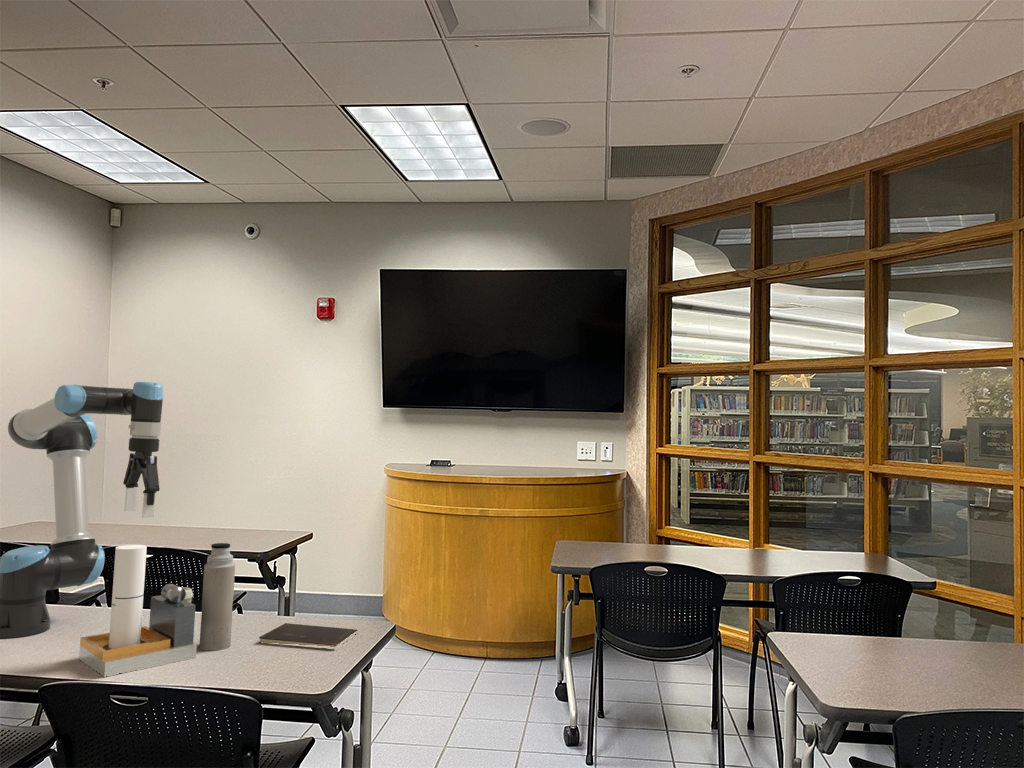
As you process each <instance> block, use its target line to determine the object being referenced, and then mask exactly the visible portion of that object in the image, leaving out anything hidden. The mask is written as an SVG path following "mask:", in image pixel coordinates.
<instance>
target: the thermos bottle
mask: <svg viewBox="0 0 1024 768" xmlns="http://www.w3.org/2000/svg"><path fill="white" fill-rule="evenodd" d="M210 545H211V552H210V554H209V555H207V560H206V563H205V564H204V566H203V580H202V596H201V597H202V600H201V615H200V616H201V617H200V618H201V619H200V629H199V630H200V631H199V632H200V633H199V649H200V650H202V649H203V650H202V651H208V650H214V651H220V650H221V649H222V650H224V648H225V649H227V647H228V648H229V646H230V647H231V643H232V627H233V625H232V624H233V603H234V593H235V592H234V589H235V578H236V577H235V575H236V573H235V572H236V563H235V562H233V561H234V555H233V554H231V548H230V547H231V544H230V543H227V542H226V543H225V542H217V543H213V544H210Z"/></svg>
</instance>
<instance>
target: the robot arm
mask: <svg viewBox="0 0 1024 768" xmlns="http://www.w3.org/2000/svg"><path fill="white" fill-rule="evenodd" d="M163 401H164V385H163V384H162V383H159V382H150V381H149V382H148V381H136V382H134V384H133V386H132V388H124V387H123V388H121V387H105V386H104V387H103V386H93V385H92V386H91V385H90V386H89V385H80V384H64V385H63V384H62V385H60V386H59V387H57V390H56V392H55V394H54V398H51V399H50V400H48V401H46V402H44V403H42V404H40V405H38V406H36V407H34V408H26V409H23V410H20V411H19V412H17V413H15V414H14V415H13V416H12V417H11V418H10V420H9V422H8V425H7V431H8V435H9V436H10V438H11V440H12V441H13V442H15V443H16V444H17V445H19V446H21V447H23V448H26V449H30V450H46V458H48V459H49V460H51V461H52V471H53V472H52V473H53V491H54V492H53V493H54V495H53V496H54V514H55V535H56V536H55V539H54V540H53V541H52V542H51V543H50V548H49V546H48V545H42V544H41V545H39V544H37V545H30V546H23V547H19V548H15V549H11V550H9V551H7V552H4V553H3V554H2V555H1V556H0V639H9V638H10V639H11V638H21V637H29V636H33V635H37V634H40V633H44V632H46V631H48V630H49V629H50V628H51V617H50V613H49V611H48V607H47V603H46V592H47V591H50V590H57V589H62V588H69V587H70V588H71V587H80V586H83V585H89V584H92V583H94V582H96V581H97V580H98V579H99V577H100V576H101V573H102V571H103V570H104V565H105V559H106V557H105V550H104V548H103V546H102V545H100V544H97V543H96V538H95V537H94V536H92V535H91V533H90V529H89V528H90V527H89V510H88V494H87V493H88V491H87V490H88V489H87V474H86V473H87V472H86V460H85V459H86V458H87V457H88V455H89V454H91V450H92V449H93V448H94V447H95V446H96V443H97V439H98V430H97V426H96V423H95V421H94V420H93V418H91V416H89V415H88V414H96V415H116V416H117V415H120V416H130V424H128V429H129V435H130V436H131V437H130V438H129V439H128V451H129V452H130V454H129V456H128V457H129V458H128V459H129V460H128V463H127V468H126V471H125V474H124V478H123V483H122V484H123V485H124V486H125V498H124V509H123V511H124V512H136V511H137V508H136V507H137V498H138V497H137V495H138V488H139V484H138V482H139V480H140V477H142V483H143V485H144V490H143V492H142V494H143V501H142V502H143V503H142V511H141V512H142V515H141V518H144V519H145V518H154V517H155V505H156V504H155V503H156V493H157V492H159V491H160V481H159V480H160V479H159V472H158V471H159V470H158V456H157V455H155V456H153V453H157V452H159V450H160V439H159V438H158V437H160V436H161V428H162V427H161V426H162V425H161V424H162V423H161V421H162V413H163ZM132 452H134V453H132ZM141 475H142V476H141Z"/></svg>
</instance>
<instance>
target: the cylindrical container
mask: <svg viewBox="0 0 1024 768" xmlns="http://www.w3.org/2000/svg"><path fill="white" fill-rule="evenodd" d="M147 546H148V545H144V544H123V545H118V546H116V547H115V553H114V565H113V566H114V567H113V569H114V570H113V581H112V582H113V583H112V592H111V593H112V594H111V596H112V597H111V607H110V609H111V611H110V621H109V622H110V625H109V626H110V627H109V633H110V637H109V648H111V649H115V648H121V647H126V646H131V645H136V644H140V640H141V627H142V622H143V609H144V608H143V607H144V591H145V578H146V577H145V576H146V566H147V564H146V563H147V548H148V547H147Z"/></svg>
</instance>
